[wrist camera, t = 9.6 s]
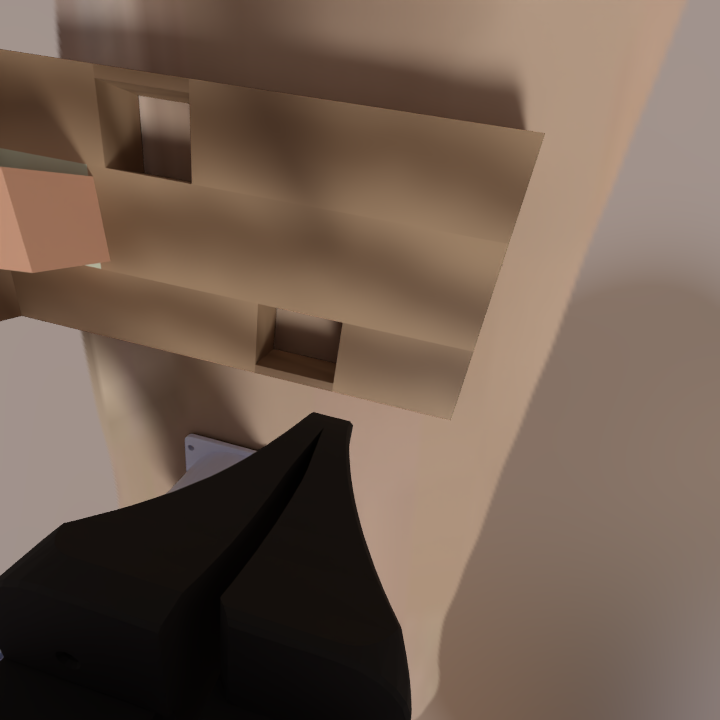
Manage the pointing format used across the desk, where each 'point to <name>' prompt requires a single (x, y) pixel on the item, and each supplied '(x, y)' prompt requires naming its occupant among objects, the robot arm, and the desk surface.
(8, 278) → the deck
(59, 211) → the block
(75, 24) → the desk surface
